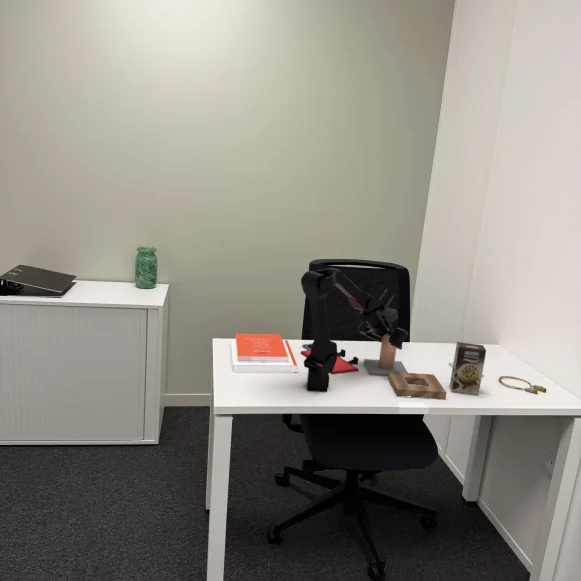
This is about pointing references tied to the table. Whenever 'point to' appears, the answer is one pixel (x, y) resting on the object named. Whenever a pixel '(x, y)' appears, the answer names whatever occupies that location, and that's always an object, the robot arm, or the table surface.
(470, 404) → the table surface
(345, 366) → the red board with handle
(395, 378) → the pocket board
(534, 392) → the extension cord
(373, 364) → the mat
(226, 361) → the table surface
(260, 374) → the table surface
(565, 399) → the table surface
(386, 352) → the plug
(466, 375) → the coffee box
